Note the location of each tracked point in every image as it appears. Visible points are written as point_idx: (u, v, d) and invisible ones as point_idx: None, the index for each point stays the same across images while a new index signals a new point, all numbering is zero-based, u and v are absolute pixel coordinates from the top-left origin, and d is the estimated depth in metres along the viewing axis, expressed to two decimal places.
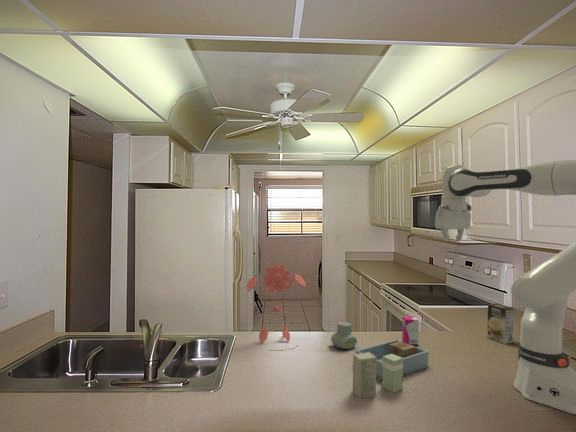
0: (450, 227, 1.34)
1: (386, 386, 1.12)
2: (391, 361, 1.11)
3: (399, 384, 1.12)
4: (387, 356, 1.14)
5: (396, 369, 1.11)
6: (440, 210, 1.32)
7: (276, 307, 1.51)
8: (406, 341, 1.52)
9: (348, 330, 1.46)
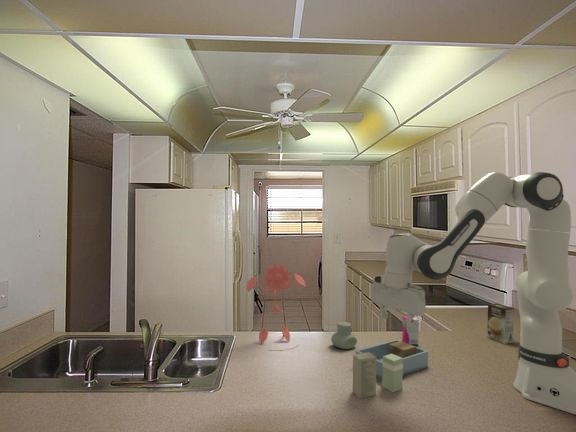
0: None
1: (386, 386, 1.12)
2: (391, 361, 1.11)
3: (399, 384, 1.12)
4: (387, 356, 1.14)
5: (396, 369, 1.11)
6: None
7: (276, 307, 1.51)
8: (406, 341, 1.52)
9: (348, 330, 1.46)
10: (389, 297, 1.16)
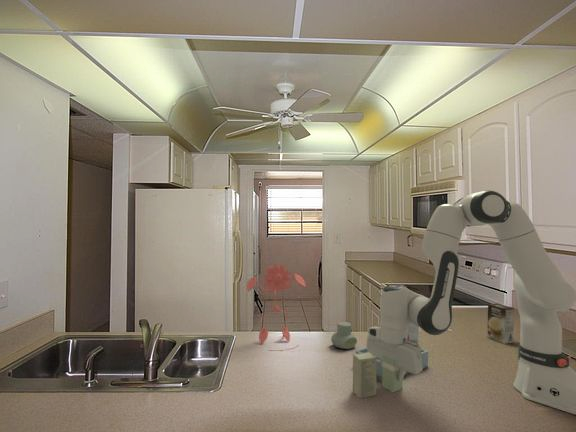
0: None
1: (386, 386, 1.12)
2: (391, 361, 1.11)
3: (399, 384, 1.12)
4: None
5: (396, 369, 1.11)
6: None
7: (276, 307, 1.51)
8: None
9: (348, 330, 1.46)
10: (385, 351, 1.13)
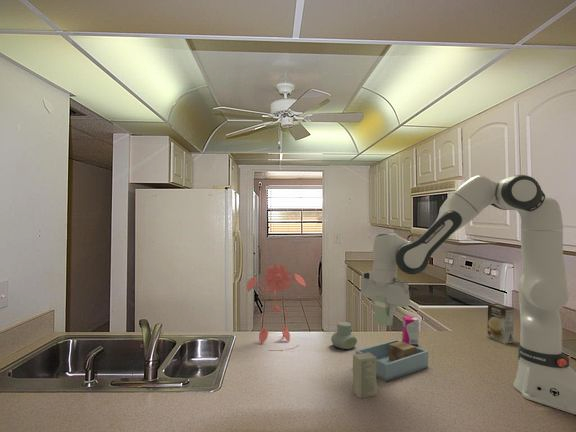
0: None
1: (378, 322, 1.26)
2: (382, 299, 1.24)
3: (390, 319, 1.25)
4: None
5: (387, 306, 1.24)
6: None
7: (276, 307, 1.51)
8: (406, 341, 1.52)
9: (348, 330, 1.46)
10: (377, 291, 1.27)
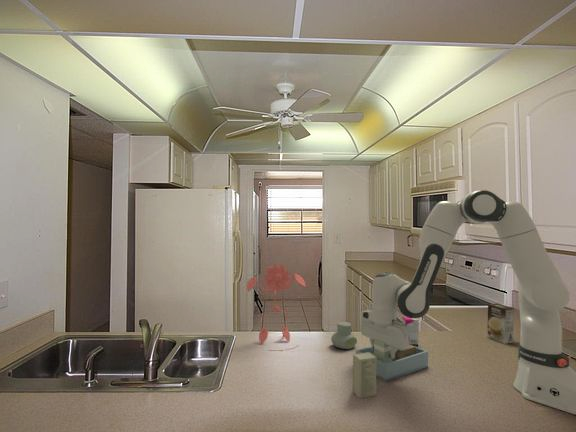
0: None
1: None
2: (381, 343, 1.24)
3: None
4: None
5: (386, 350, 1.24)
6: None
7: (276, 307, 1.51)
8: None
9: (348, 330, 1.46)
10: (376, 332, 1.27)
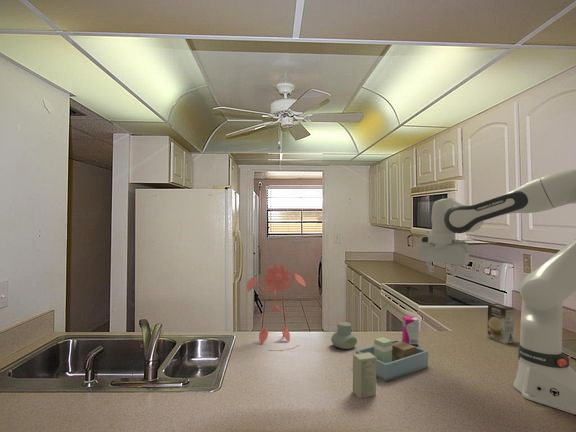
0: None
1: None
2: (381, 343, 1.24)
3: None
4: (378, 339, 1.27)
5: (386, 350, 1.24)
6: None
7: (276, 307, 1.51)
8: (406, 341, 1.52)
9: (348, 330, 1.46)
10: (436, 253, 1.37)
